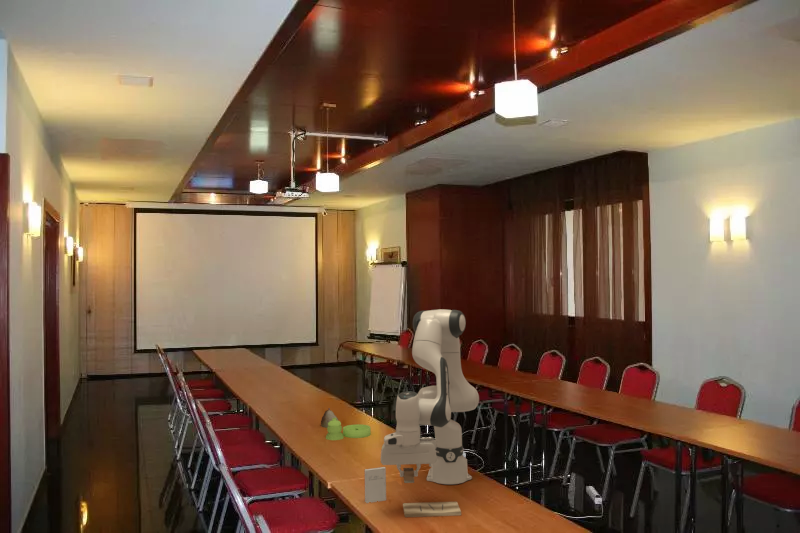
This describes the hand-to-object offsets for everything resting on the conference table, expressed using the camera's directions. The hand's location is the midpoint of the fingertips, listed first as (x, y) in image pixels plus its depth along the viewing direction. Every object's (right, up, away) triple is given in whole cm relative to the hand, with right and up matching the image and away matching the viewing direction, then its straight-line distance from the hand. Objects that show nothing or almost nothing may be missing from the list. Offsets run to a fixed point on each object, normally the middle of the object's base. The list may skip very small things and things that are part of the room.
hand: (408, 476), depth 238 cm
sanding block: (0, -2, 0) cm, 2 cm away
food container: (-30, -16, +108) cm, 114 cm away
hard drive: (-12, -13, +11) cm, 21 cm away
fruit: (-42, -16, +131) cm, 138 cm away
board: (+8, -13, 0) cm, 15 cm away
